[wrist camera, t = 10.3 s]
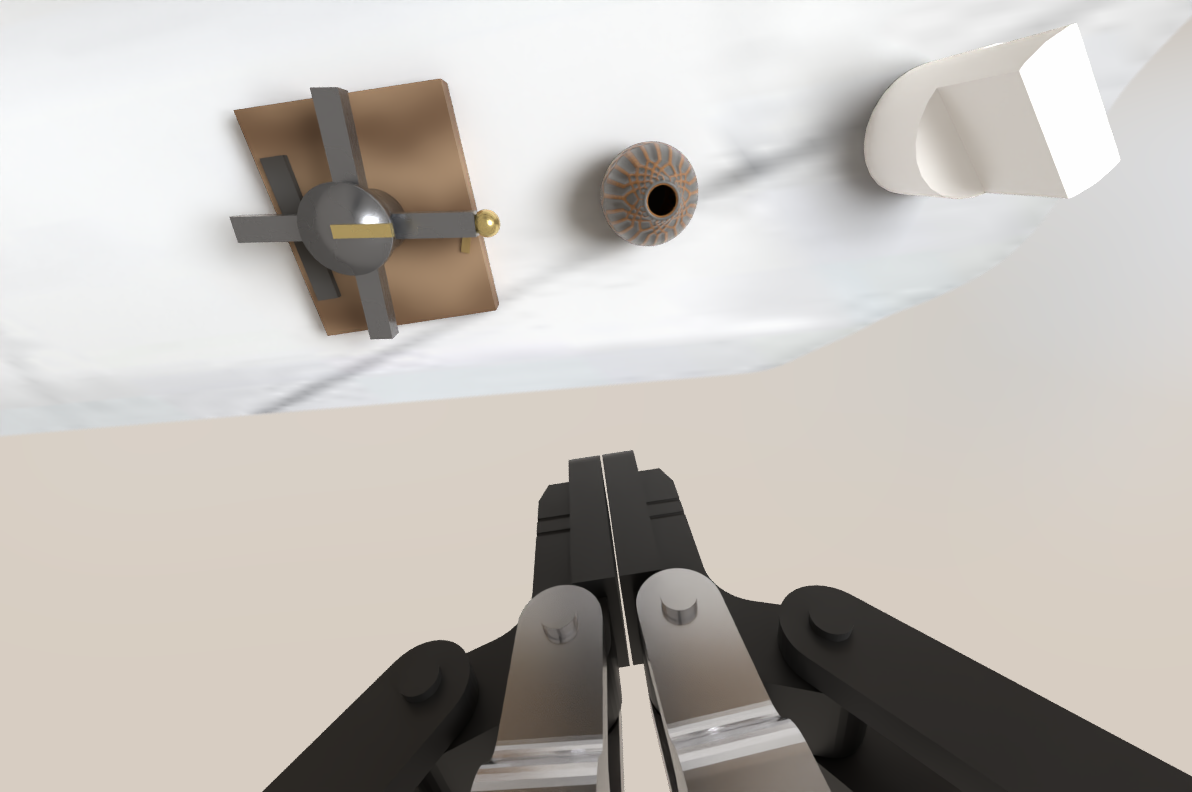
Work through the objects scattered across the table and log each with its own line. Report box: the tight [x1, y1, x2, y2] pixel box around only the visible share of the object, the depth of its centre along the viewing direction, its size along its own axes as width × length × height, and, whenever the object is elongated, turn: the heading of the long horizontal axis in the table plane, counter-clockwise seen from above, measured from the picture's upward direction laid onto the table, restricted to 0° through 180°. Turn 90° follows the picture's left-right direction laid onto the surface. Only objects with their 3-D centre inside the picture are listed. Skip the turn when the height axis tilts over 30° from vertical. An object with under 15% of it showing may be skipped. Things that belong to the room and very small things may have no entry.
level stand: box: [234, 79, 499, 336], centre depth 35 cm, size 16×14×3 cm
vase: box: [601, 141, 698, 246], centre depth 33 cm, size 7×7×9 cm
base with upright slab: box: [864, 23, 1120, 199], centre depth 31 cm, size 9×9×12 cm
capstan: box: [230, 87, 500, 339], centre depth 32 cm, size 17×16×6 cm
